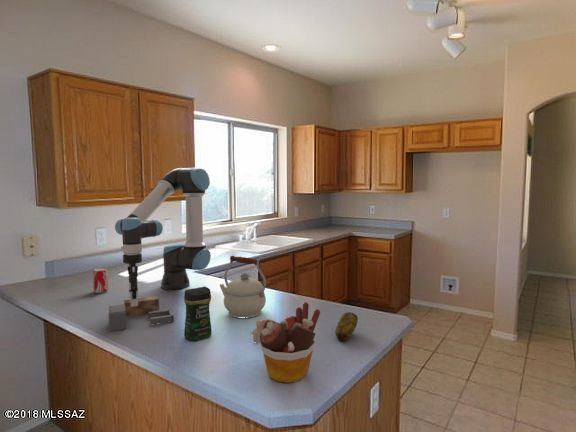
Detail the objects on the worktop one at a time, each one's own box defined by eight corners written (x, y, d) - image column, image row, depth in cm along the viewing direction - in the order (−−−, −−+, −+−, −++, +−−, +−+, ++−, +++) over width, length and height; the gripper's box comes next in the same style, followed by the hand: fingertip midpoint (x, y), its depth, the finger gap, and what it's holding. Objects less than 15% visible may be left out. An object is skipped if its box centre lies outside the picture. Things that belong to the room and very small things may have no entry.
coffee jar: (190, 343, 134) (189, 292, 132) (181, 336, 140) (180, 287, 138) (215, 337, 140) (214, 288, 138) (205, 330, 146) (204, 283, 144)
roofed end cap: (125, 321, 155) (124, 304, 154) (126, 328, 147) (125, 310, 147) (109, 323, 153) (108, 306, 152) (109, 331, 145) (108, 313, 144)
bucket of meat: (285, 398, 100) (285, 325, 98) (245, 376, 112) (244, 311, 110) (330, 370, 115) (331, 307, 113) (291, 353, 126) (291, 295, 124)
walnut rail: (158, 308, 171) (157, 296, 170) (159, 311, 167) (158, 298, 166) (124, 313, 165) (124, 300, 164) (125, 316, 161) (124, 303, 160)
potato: (326, 338, 139) (326, 317, 138) (346, 328, 148) (346, 308, 147) (344, 344, 133) (345, 322, 132) (364, 334, 142) (365, 313, 141)
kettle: (277, 311, 167) (276, 256, 165) (252, 324, 152) (252, 264, 149) (232, 302, 180) (232, 250, 178) (206, 313, 164) (205, 257, 162)
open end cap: (170, 314, 163) (170, 309, 163) (173, 321, 155) (173, 315, 155) (148, 317, 159) (148, 312, 159) (150, 325, 151) (150, 319, 151)
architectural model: (250, 342, 136) (250, 322, 135) (263, 336, 141) (263, 317, 140) (257, 345, 133) (257, 325, 133) (270, 339, 139) (270, 319, 138)
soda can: (102, 294, 192) (101, 271, 191) (90, 293, 194) (89, 270, 193) (111, 290, 199) (110, 268, 198) (99, 289, 201) (98, 267, 199)
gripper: (122, 249, 172) (123, 295, 173) (123, 259, 149) (125, 311, 151) (139, 248, 175) (140, 293, 177) (143, 257, 152) (145, 308, 154)
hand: (133, 301), depth 164 cm, fingers open, 13 cm apart
